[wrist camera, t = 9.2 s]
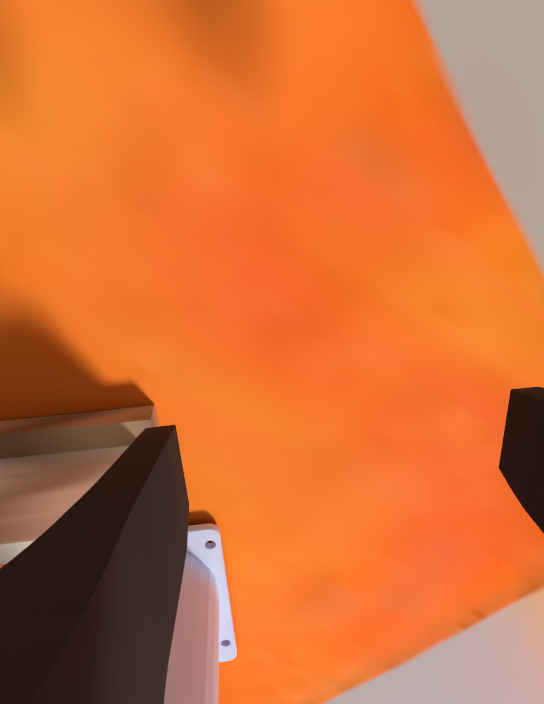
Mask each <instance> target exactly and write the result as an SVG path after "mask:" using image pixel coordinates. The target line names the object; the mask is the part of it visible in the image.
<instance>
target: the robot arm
mask: <svg viewBox="0 0 544 704" xmlns="http://www.w3.org/2000/svg"><path fill="white" fill-rule="evenodd" d="M499 469H500V471H501V472H502V474H503V476H504V478H505V479H506V481H507V483H508V484H509V486H510V488H511V489H512V491H513V493H514V494H515V496H516V497H517V499H518V500H519V502H520V503H521V505H522V506H523V508H524V509H525V511H526V512H527V513H528V514H529V516H530V517H531V518H532V519H533V521H534V522H535V523H536V524H537V526H538V527H539V528H540V529H541V531H542V532H543V533H544V388H542V387H531V388H522V389H512V390H511V392H510V399H509V405H508V412H507V418H506V425H505V431H504V437H503V444H502V450H501V457H500V463H499ZM188 516H189V501H188V495H187V489H186V484H185V478H184V472H183V466H182V460H181V455H180V449H179V443H178V437H177V431H176V426H175V425H169V426H160V427H150V428H145V429H144V430H143V431H142V432H141V433H140V435H139V436H138V437H137V438H136V439H135V440H134V441H133V442H132V443H131V445H130V446H129V447H128V448H127V449H126V450H125V451H124V452H123V453H122V455H121V456H120V457H119V458H118V459H117V460H116V461H115V462H114V463H113V465H112V466H111V467H110V468H109V469H108V470H107V471H106V472H105V473H104V474H103V475H102V476H101V477H100V479H99V480H98V481H97V482H96V483H95V484H94V485H93V486H92V487H91V488H90V489H89V490H88V491H87V492H86V493H85V494H84V495H83V496H82V497H81V498H80V499H79V500H78V501H77V502H76V503H75V504H74V505H72V506H71V507H70V508H69V509H68V510H67V511H66V512H65V513H64V514H63V515H62V516H61V517H60V518H59V519H58V520H57V521H56V522H55V523H54V524H53V525H52V526H51V527H49V528H48V529H47V530H46V531H45V532H44V533H43V534H42V535H41V536H39V537H38V538H37V539H36V540H35V541H34V542H32V543H31V544H30V545H29V546H28V547H27V548H25V549H24V550H23V551H22V552H20V553H19V554H18V555H17V556H15V557H14V558H13V559H12V560H11V561H9V562H8V563H7V564H6V565H4V566H3V567H2V568H1V569H0V704H218V674H219V662H225V661H230V660H233V659H234V658H235V657H236V655H237V647H236V640H235V633H234V626H233V619H232V612H231V606H230V599H229V592H228V585H227V578H226V571H225V564H224V557H223V550H222V543H221V536H220V530H219V527H218V526H216V525H215V524H210V523H207V524H199V525H191V526H188ZM207 541H214V542H212V543H208V542H207Z"/></svg>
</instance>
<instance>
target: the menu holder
mask: <svg viewBox="0 0 544 704" xmlns="http://www.w3.org/2000/svg"><path fill="white" fill-rule="evenodd" d="M150 427H159V426H158V420H157V415H156V410H155V405H150V406H140V407H130V408H120V409H110V410H101V411H91V412H81V413H71V414H62V415H52V416H42V417H32V418H22V419H13V420H3V421H0V565H2V564H7V563H8V562H9V561H11V560H12V559H13V558H14V557H15V556H17V555H18V554H19V553H20V552H22V551H23V550H24V549H25V548H27V547H28V546H29V545H30V544H31V543H32V542H34V541H35V540H36V539H37V538H38V537H39V536H41V535H42V534H43V533H44V532H45V531H46V530H47V529H48V528H49V527H51V526H52V525H53V524H54V523H55V522H56V521H57V520H58V519H59V518H60V517H61V516H62V515H63V514H64V513H65V512H66V511H67V510H68V509H69V508H70V507H71V506H72V505H74V504H75V503H76V502H77V501H78V500H79V499H80V498H81V497H82V496H83V495H84V494H85V493H86V492H87V491H88V490H89V489H90V488H91V487H92V486H93V485H94V484H95V483H96V482H97V481H98V480H99V479H100V477H101V476H102V475H103V474H104V473H105V472H106V471H107V470H108V469H109V468H110V467H111V466H112V465H113V463H114V462H115V461H116V460H117V459H118V458H119V457H120V456H121V455H122V453H123V452H124V451H125V450H126V449H127V448H128V447H129V446H130V445H131V443H132V442H133V441H134V440H135V439H136V438H137V437H138V436H139V435H140V433H141V432H142V431H143V430H144V429H145V428H150Z"/></svg>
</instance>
